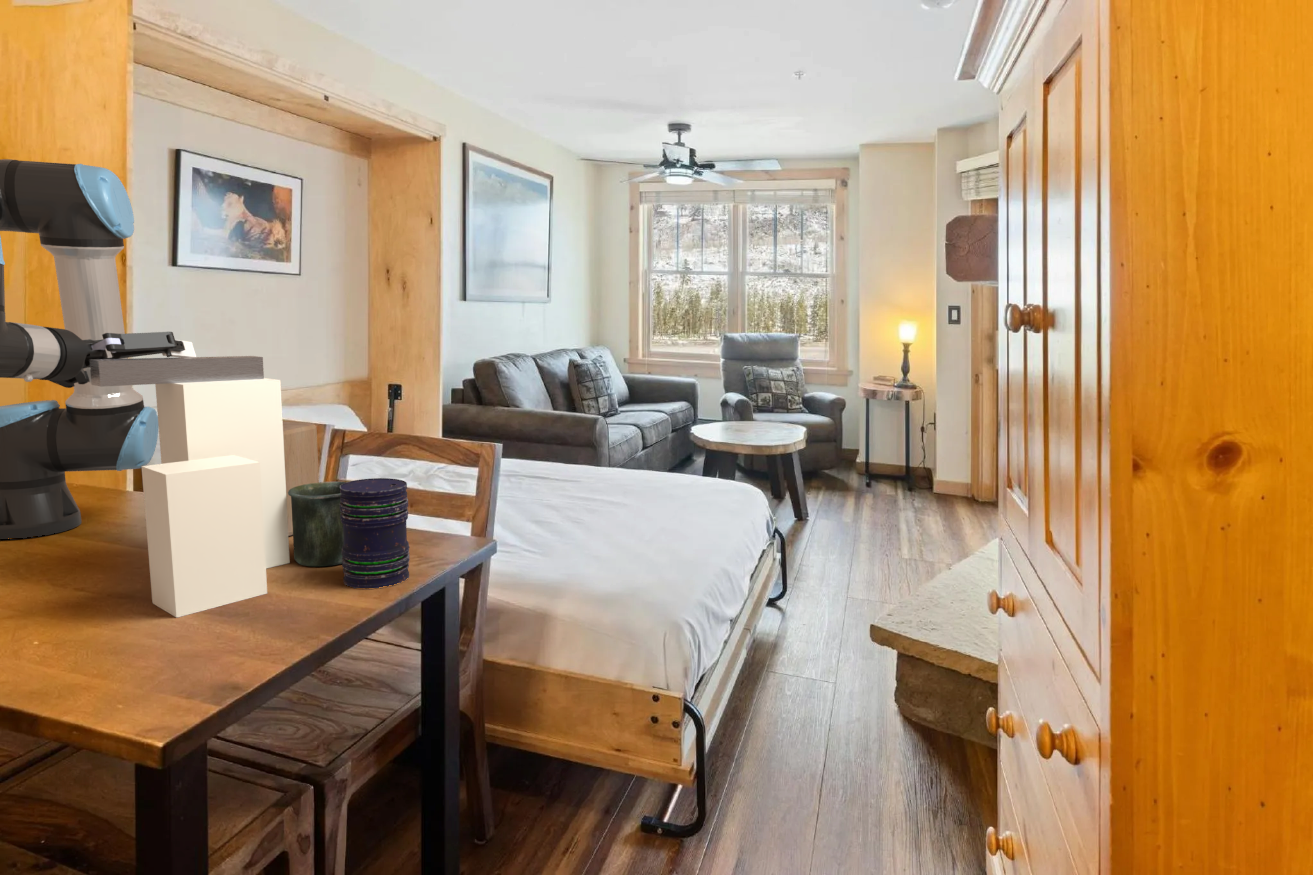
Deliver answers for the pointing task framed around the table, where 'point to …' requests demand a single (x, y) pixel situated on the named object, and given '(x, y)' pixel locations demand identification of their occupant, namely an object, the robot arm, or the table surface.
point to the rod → (174, 370)
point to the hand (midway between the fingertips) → (157, 363)
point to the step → (204, 533)
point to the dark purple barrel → (374, 532)
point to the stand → (232, 439)
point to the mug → (317, 523)
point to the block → (299, 459)
